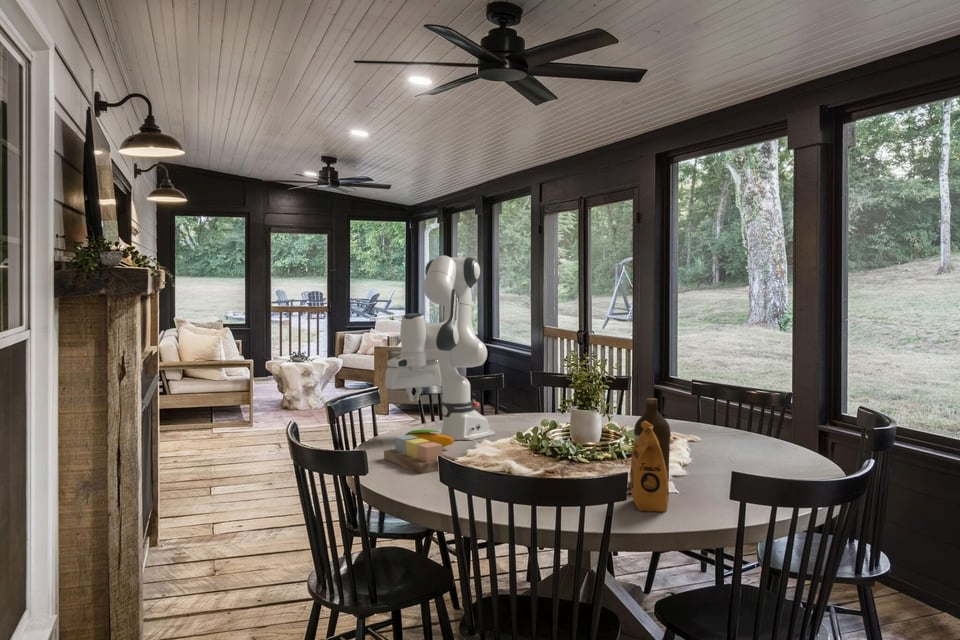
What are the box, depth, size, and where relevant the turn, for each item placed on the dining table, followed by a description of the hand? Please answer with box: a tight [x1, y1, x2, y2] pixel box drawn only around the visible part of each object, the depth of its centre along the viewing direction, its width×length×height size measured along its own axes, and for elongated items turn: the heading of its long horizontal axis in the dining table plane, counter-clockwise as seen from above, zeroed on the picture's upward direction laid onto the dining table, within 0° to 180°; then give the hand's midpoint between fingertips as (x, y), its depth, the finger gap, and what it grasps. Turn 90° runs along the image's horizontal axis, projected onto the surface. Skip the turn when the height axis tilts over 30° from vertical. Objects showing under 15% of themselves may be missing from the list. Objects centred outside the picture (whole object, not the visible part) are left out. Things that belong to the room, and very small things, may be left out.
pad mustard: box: [406, 438, 430, 458], centre depth 243 cm, size 6×6×5 cm
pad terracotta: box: [418, 442, 444, 462], centre depth 237 cm, size 6×6×5 cm
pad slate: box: [394, 434, 418, 454], centre depth 250 cm, size 6×6×5 cm
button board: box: [383, 448, 456, 475], centre depth 244 cm, size 13×26×3 cm, turn 35°
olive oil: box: [633, 397, 671, 483], centre depth 214 cm, size 11×11×25 cm
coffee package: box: [629, 421, 670, 513], centre depth 191 cm, size 10×12×22 cm
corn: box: [403, 429, 456, 448], centre depth 265 cm, size 7×8×20 cm
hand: (414, 400), depth 244 cm, fingers closed
